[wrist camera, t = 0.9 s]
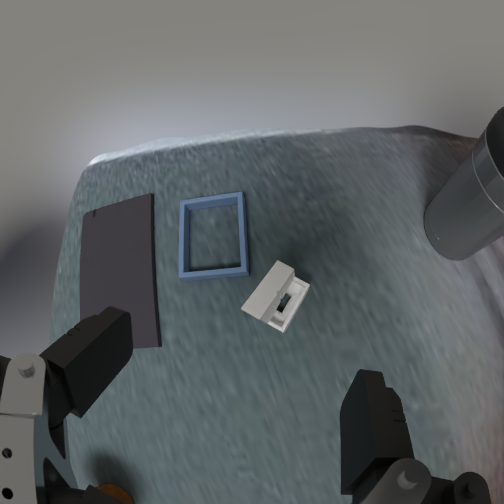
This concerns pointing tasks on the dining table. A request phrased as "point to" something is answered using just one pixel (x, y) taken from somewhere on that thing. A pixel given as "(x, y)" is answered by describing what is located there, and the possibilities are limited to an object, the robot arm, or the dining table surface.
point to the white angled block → (277, 296)
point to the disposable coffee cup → (116, 493)
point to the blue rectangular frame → (184, 236)
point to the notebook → (121, 266)
